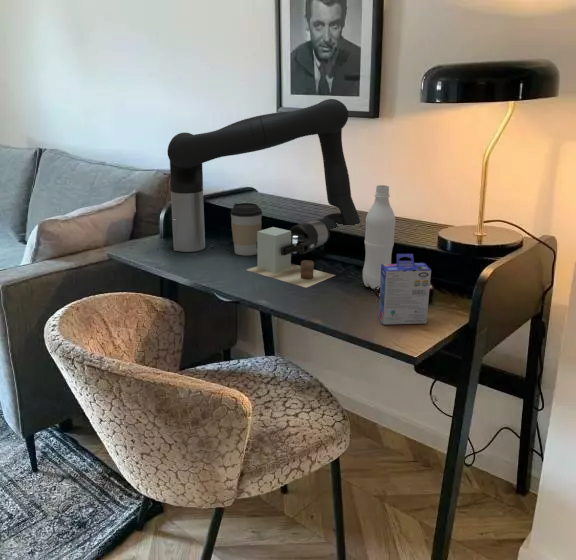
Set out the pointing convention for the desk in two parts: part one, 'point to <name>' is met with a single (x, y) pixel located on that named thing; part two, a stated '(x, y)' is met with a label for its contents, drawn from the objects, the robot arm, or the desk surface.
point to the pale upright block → (273, 249)
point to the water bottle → (378, 237)
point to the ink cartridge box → (404, 292)
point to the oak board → (297, 274)
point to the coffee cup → (245, 227)
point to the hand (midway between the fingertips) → (269, 248)
